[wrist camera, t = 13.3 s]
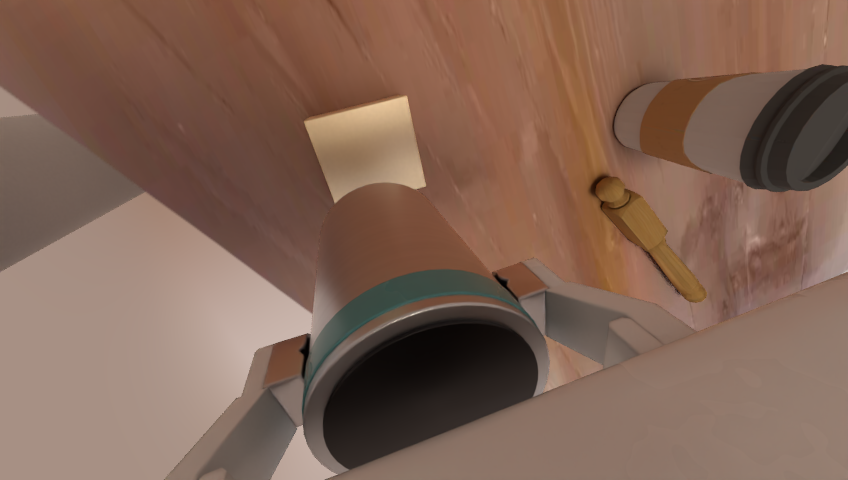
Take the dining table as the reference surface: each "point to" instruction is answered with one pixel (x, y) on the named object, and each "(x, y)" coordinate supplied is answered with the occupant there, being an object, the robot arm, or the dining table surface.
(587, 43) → the dining table surface
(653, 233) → the tap handle
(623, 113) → the coffee cup
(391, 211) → the tumbler
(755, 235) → the dining table surface
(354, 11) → the dining table surface
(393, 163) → the plate
